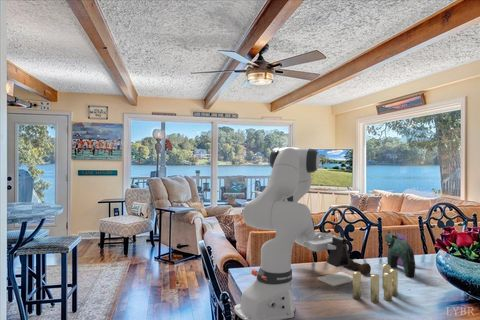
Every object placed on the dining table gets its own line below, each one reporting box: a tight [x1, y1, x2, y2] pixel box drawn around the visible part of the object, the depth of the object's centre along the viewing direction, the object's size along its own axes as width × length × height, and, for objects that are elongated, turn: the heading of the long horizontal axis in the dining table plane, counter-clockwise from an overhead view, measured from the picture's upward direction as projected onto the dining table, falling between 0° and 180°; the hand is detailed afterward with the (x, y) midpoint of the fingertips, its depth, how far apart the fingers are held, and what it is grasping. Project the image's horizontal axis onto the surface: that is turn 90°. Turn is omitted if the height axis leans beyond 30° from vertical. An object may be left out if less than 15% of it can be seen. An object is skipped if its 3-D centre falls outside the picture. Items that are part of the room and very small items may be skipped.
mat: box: [316, 271, 353, 287], centre depth 145 cm, size 16×10×1 cm, turn 122°
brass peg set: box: [352, 263, 399, 304], centre depth 127 cm, size 22×10×10 cm, turn 122°
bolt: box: [345, 258, 372, 276], centre depth 158 cm, size 6×5×15 cm
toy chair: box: [396, 233, 408, 266], centre depth 170 cm, size 8×9×15 cm
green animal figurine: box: [384, 229, 416, 278], centre depth 157 cm, size 20×6×20 cm, turn 4°
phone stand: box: [326, 235, 351, 268], centre depth 144 cm, size 9×6×12 cm, turn 115°
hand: (339, 247), depth 145 cm, fingers closed on phone stand
